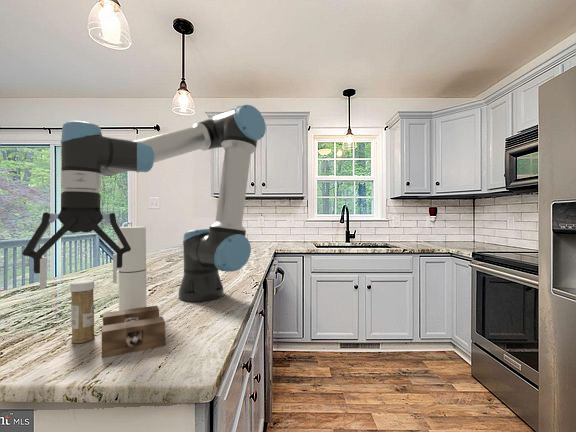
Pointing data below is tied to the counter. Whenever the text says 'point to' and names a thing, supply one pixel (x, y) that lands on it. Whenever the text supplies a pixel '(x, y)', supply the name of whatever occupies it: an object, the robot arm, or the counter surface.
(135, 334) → the plunger
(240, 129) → the robot arm
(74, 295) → the sprinkles bottle
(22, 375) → the counter surface
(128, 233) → the cylindrical container
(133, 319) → the plunger
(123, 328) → the socket
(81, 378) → the counter surface
